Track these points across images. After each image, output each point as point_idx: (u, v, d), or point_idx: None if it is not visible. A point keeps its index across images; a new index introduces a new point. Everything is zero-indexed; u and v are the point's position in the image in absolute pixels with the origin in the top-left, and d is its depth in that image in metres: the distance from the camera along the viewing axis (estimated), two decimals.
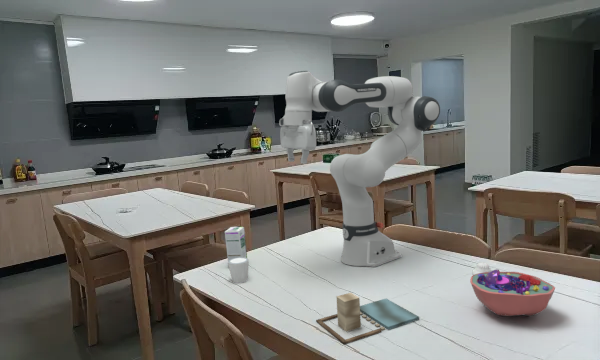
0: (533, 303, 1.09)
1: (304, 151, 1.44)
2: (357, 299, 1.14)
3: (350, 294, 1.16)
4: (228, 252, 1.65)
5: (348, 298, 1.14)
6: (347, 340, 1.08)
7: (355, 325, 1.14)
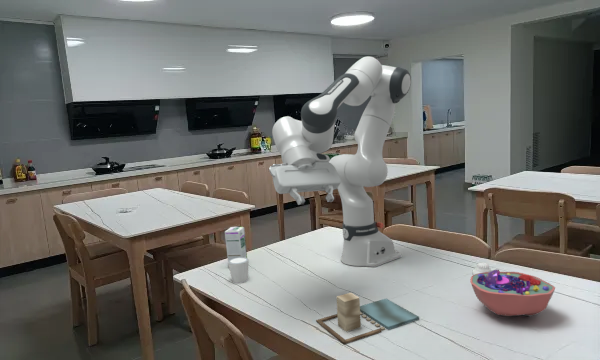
0: (533, 303, 1.09)
1: (290, 193, 1.23)
2: (357, 299, 1.14)
3: (350, 294, 1.16)
4: (228, 252, 1.65)
5: (348, 298, 1.14)
6: (347, 340, 1.08)
7: (355, 325, 1.14)
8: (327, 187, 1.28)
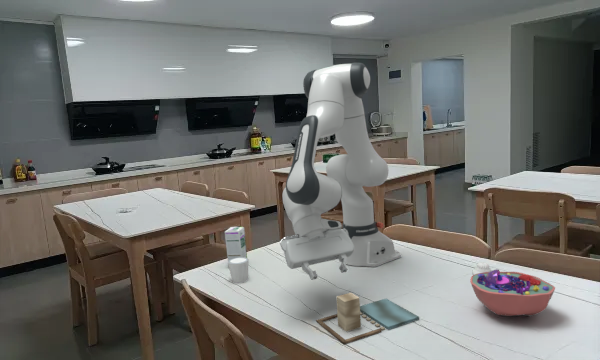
0: (533, 303, 1.09)
1: (302, 267, 1.21)
2: (357, 299, 1.14)
3: (350, 294, 1.16)
4: (228, 252, 1.65)
5: (348, 298, 1.14)
6: (347, 340, 1.08)
7: (355, 325, 1.14)
8: (340, 256, 1.26)
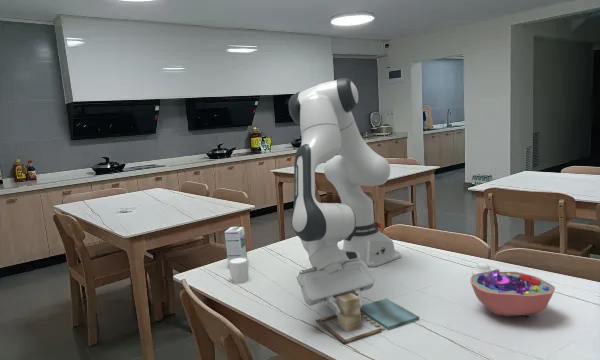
0: (533, 303, 1.09)
1: (327, 302, 1.15)
2: (357, 299, 1.14)
3: (350, 294, 1.16)
4: (228, 252, 1.65)
5: (348, 298, 1.14)
6: (347, 340, 1.08)
7: (355, 325, 1.14)
8: (354, 292, 1.18)
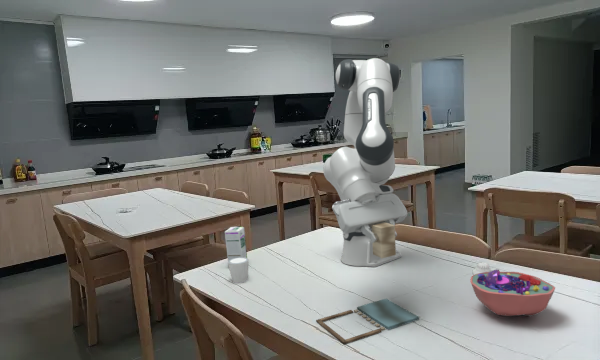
0: (533, 303, 1.09)
1: (362, 231, 1.18)
2: (392, 227, 1.16)
3: (385, 223, 1.19)
4: (228, 252, 1.65)
5: (383, 226, 1.17)
6: (347, 340, 1.08)
7: (390, 252, 1.17)
8: (388, 222, 1.21)
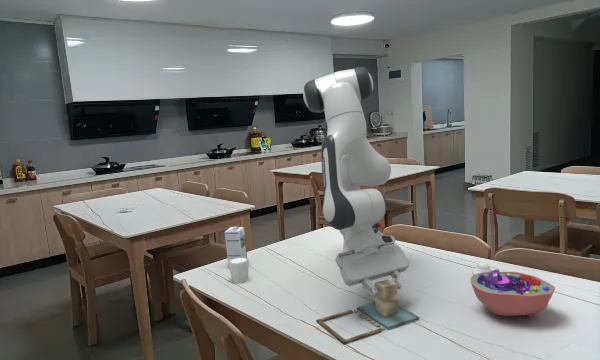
0: (533, 303, 1.09)
1: (362, 284, 1.20)
2: (395, 285, 1.19)
3: (387, 281, 1.22)
4: (228, 252, 1.65)
5: (386, 284, 1.19)
6: (347, 340, 1.08)
7: (393, 310, 1.20)
8: (393, 273, 1.23)
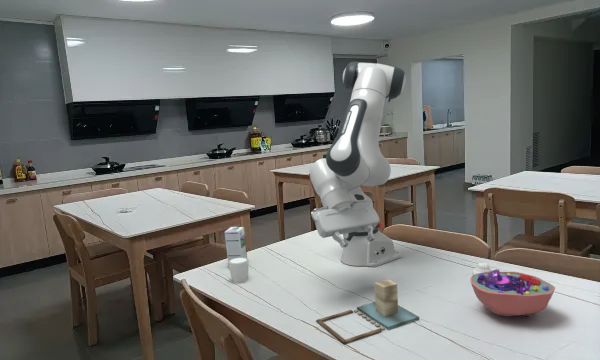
0: (533, 303, 1.09)
1: (333, 236, 1.29)
2: (395, 285, 1.19)
3: (387, 281, 1.22)
4: (228, 252, 1.65)
5: (386, 284, 1.19)
6: (347, 340, 1.08)
7: (393, 310, 1.20)
8: (367, 227, 1.34)
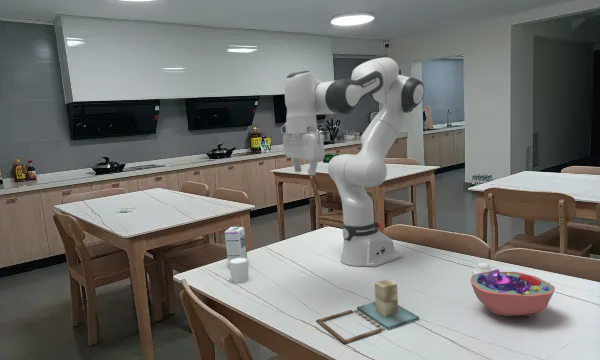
0: (533, 303, 1.09)
1: (312, 162, 1.28)
2: (395, 285, 1.19)
3: (387, 281, 1.22)
4: (228, 252, 1.65)
5: (386, 284, 1.19)
6: (347, 340, 1.08)
7: (393, 310, 1.20)
8: (297, 158, 1.39)
